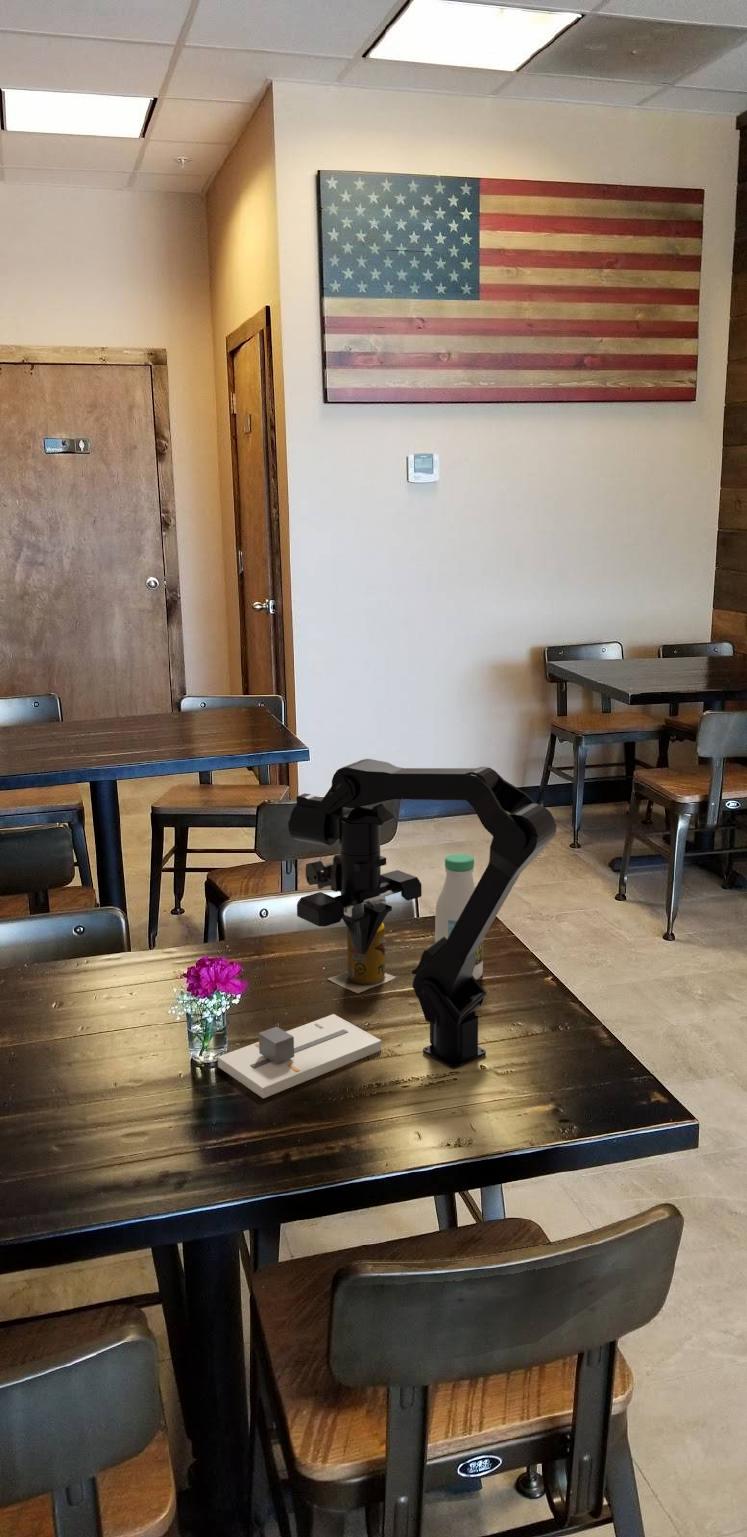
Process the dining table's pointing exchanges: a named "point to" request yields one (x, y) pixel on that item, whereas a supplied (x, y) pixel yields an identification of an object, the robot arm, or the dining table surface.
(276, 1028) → the fader
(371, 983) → the condiment
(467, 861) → the milk bottle
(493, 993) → the dining table surface
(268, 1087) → the console
